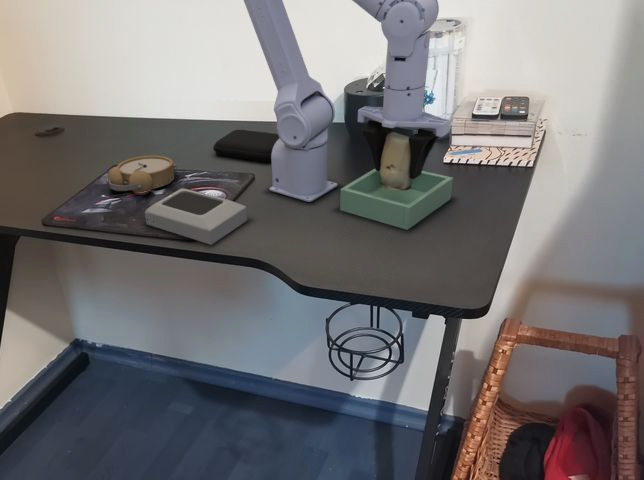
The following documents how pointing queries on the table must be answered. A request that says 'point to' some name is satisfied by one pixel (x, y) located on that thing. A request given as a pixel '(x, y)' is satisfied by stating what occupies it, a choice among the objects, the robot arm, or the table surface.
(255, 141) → the carrying case
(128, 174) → the alarm clock
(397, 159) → the beige lumpy block
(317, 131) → the robot arm
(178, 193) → the grey box with screen
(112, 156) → the table surface
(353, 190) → the basin
